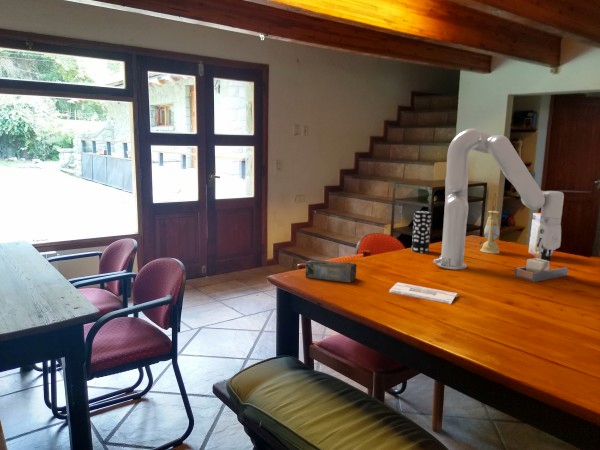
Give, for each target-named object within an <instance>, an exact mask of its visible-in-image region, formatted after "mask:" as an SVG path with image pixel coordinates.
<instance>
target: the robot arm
mask: <svg viewBox="0 0 600 450" xmlns="http://www.w3.org/2000/svg"><path fill="white" fill-rule="evenodd" d="M471 151H475V152H479V153H483V154H488V155H491V156H492V158H493V160H494V161H495V162H496V164H497V165H498V167H499V169H500V170H501V172H502V173H503V175H504V177H505V178H506V180H508V182H509V183H511V185H513V187H514V188H515V190H516V191H517V193H518V194H519V196H520V201H521V203H522V205H524V206H526V207H527V208H528V209H530V210H540V209H541V210H540V213H541V216H540V226H539V230H538V234H537V241H536V246H537V247H538V251H539V252H541V259H542V260H546V261H550V262H551V259H552V256H553V252H554V251H556V250H557V249H559V248H561V242H562V225H561V224H562V216H563V206H564V200H565V199H564V198H565V195H564V192H562V191H558V190H542V189H541V188H540V186H539V185H538V183H537V181H536V180H535V178H534V177H533V176H532V174H531V172H529V169H528V167H527V166H526V165H525V162H524V161H523V160H522V158H521V157H520V156H519V153H518V152H517V150H516V149H515V148H514V145H513V144H512V143H511V140H509V138H508V137H507V136H505V135H501V134H492V133H487V132H483V131H481V130H478V129H477V128H472V127H471V128H467V129H464V130H463V131H461V132H460V133H458V134H457V135H456V136H455V137H454V138H453V139H452V141H451V142H450V144H449V145H448V149H447V154H446V155H447V156H446V174H445V187H444V188H445V191H444V194H445V195H444V196H445V197H444V198H445V199H444V200H445V201H444V214H443V225H442V227H443V228H442V241H441V254H440V255H439V257H438V258H434V259H433V260H432V263H434V264H436V265H437V266H438V267H440V268H443V269H446V270H447V269H448V270H456V271H457V270H459V271H460V270H465V269H466V268H467V264H466V263H465V262H464V257H465V248H466V247H465V246H466V237H467V236H466V235H467V222H468V215H469V202H468V185H469V176H468V174H469V173H468V171H469V170H468V167H469V166H468V165H469V156H470V155H469V154H470V152H471ZM549 265H551V263H550V264H549Z"/></svg>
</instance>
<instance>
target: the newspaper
mask: <svg viewBox="0 0 600 450" xmlns="http://www.w3.org/2000/svg"><path fill="white" fill-rule="evenodd" d="M388 293H389V294H395V295H401V296H405V297H411V298H415V299H421V300H426V301H432V302H435V303H436V302H437V303H443V304H447V305H452V303H453V301H454V299H455V298H458V296H459V292H458V293H457V292H452V291H446V290H440V289H436V288H430V287H425V286H420V285H414V284H410V283H403V282H396V283H395V284H394V285H393V286H392V287H391V288H390V289H389V290H388Z"/></svg>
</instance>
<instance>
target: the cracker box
mask: <svg viewBox="0 0 600 450" xmlns="http://www.w3.org/2000/svg"><path fill="white" fill-rule="evenodd" d="M540 216H541V212H533V213H532V218H531V219H532V220H531V228H530V236H529V244H528V253H527V254H529V255H531V256H533V258H538V259H541V252H539V251H538V247H537V246H536V241H537V234H538V230H539V226H540Z"/></svg>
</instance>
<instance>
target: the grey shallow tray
mask: <svg viewBox="0 0 600 450" xmlns="http://www.w3.org/2000/svg"><path fill="white" fill-rule="evenodd" d="M550 265H551V264H550ZM550 265H549V267H550ZM568 271H569V267H567V266H566V267H565V266H564V267H560V268H554V269H552V268H549V270H548V271H543V272H537V273H533V272H529V271H526V266H521V267H515V268H514V273H513V276H514V277H516V278H520V279H523V280H526V281H530V282H533V283H535V282H541V281H545V280H546V281H547V280H551V279H556V278H561V277H565V276H568Z"/></svg>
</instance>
